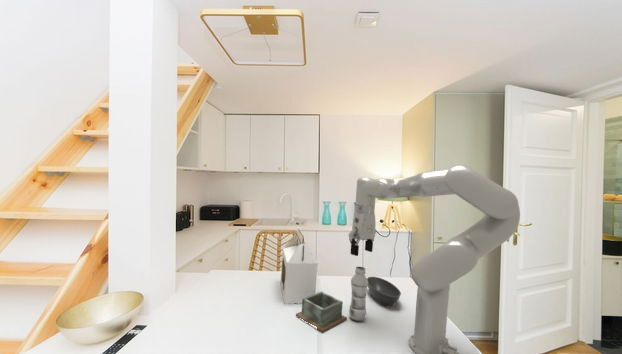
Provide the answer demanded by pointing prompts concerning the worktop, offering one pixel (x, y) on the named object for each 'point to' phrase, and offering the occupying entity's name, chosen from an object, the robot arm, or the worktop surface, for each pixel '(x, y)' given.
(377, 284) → the bowl
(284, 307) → the worktop surface
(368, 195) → the robot arm
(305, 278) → the gable box
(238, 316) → the worktop surface
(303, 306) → the bottle holder
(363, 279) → the silver bottle
